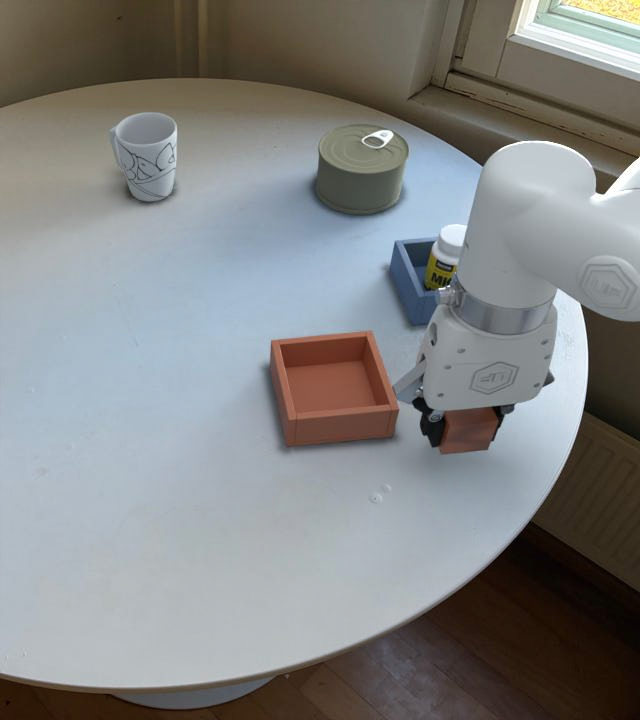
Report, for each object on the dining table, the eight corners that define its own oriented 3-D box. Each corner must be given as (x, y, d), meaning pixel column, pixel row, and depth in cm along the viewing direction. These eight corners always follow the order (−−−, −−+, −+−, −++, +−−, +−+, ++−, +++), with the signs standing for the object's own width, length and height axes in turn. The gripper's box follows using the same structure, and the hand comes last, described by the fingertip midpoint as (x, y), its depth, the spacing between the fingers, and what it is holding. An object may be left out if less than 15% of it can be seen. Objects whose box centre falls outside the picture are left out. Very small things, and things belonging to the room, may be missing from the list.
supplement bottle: (421, 300, 92) (435, 245, 85) (422, 274, 95) (435, 219, 88) (463, 304, 91) (480, 250, 84) (463, 278, 94) (479, 223, 87)
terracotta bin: (366, 358, 87) (372, 330, 84) (392, 436, 80) (400, 409, 76) (269, 367, 87) (270, 339, 84) (286, 446, 80) (288, 420, 76)
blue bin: (469, 261, 97) (477, 232, 93) (497, 317, 90) (508, 288, 86) (389, 268, 97) (394, 240, 93) (411, 325, 90) (418, 297, 87)
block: (472, 414, 76) (481, 384, 73) (488, 450, 73) (498, 421, 70) (426, 418, 76) (434, 389, 73) (441, 455, 73) (449, 426, 70)
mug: (96, 185, 113) (87, 125, 106) (135, 159, 117) (128, 99, 110) (153, 214, 108) (147, 152, 100) (192, 185, 112) (189, 124, 104)
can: (296, 190, 109) (299, 148, 104) (351, 155, 114) (357, 113, 109) (364, 227, 102) (371, 184, 97) (419, 188, 107) (428, 145, 102)
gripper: (408, 338, 59) (380, 473, 72) (629, 314, 59) (560, 455, 72) (383, 275, 64) (361, 412, 77) (586, 253, 64) (529, 394, 77)
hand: (457, 431), depth 75 cm, fingers closed on block, 4 cm apart
